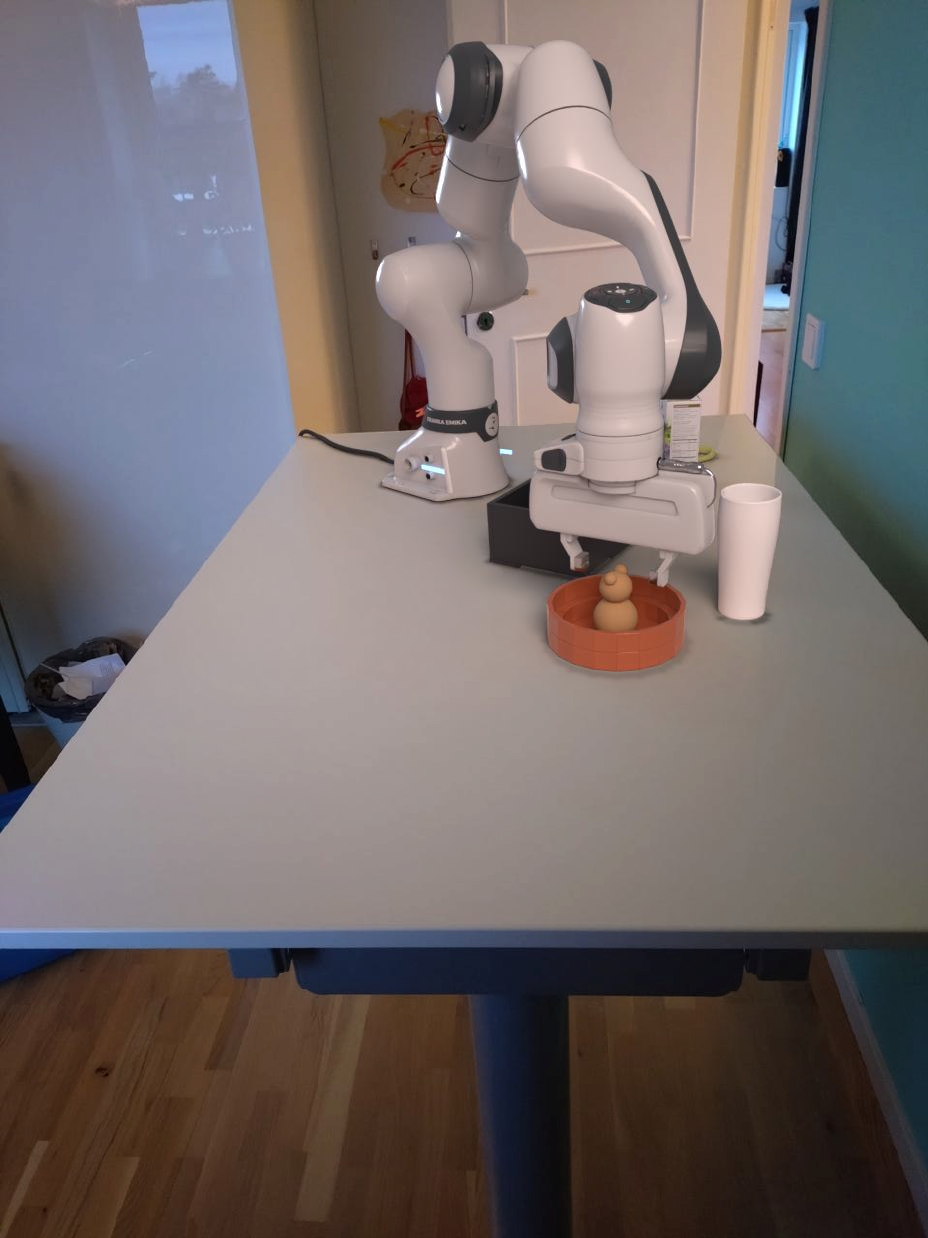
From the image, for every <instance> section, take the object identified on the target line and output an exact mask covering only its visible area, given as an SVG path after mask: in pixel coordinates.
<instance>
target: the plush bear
mask: <svg viewBox="0 0 928 1238" xmlns="http://www.w3.org/2000/svg"><path fill="white" fill-rule="evenodd" d="M614 567H615V568H614V570H611V571H608V572H607V573H604V574H605V575H604V576H603V578H602V579H601V581H600V585H599V589H600V593H601V595H602V597H603V598H604V599H602V600H601V601H600V602H599V603H598V604H597V606H596V607H595V610H594V613H593V622H594V626H595V628H596V629H597V630H601V631H614V632H621V631H634V630H635V628H636V626H637V622H638V613H637V610H636V607H635V606H634V604H633V603H632V602H631V601H630V600H629V599H627V598H628V597H629V596H630V594H631V592H632V582H631V579H630V578H629V576H628V575H627V574H628V570H629V569H628V567H627V566H626V565H625V564H623V563H619V564H617V565H616V566H614Z"/></svg>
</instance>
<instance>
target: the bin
mask: <svg viewBox="0 0 928 1238" xmlns="http://www.w3.org/2000/svg"><path fill="white" fill-rule="evenodd" d="M531 479H532V477H530V478H528V479H526V480H525V481H523V482H521V483H520V484H518V485H516V486H515V487H513V488H511V489H508V490H507V491H506V492H504V493H502V494H501V495H499V496H497V497H495V498H493V499H492V500H490V501H488V502H486V517H487V535H488V551H489V562H490V563H494V564H499V565H504V566H508V567H512V568H518V569H519V568H521V567H527V568H530V569H531V568H532V569H537V570H539V571H540V570H541V571H545V572H551V573H556V574H560V575H565V576H570V577H575V578H582V577H586V576H589V575H590V574H591V573H593V571H595V570H596V569H598V568H599V567H600V566H601V565H602V564H603V563H605V562H606V561H607V560H609V559H610V560H612V559H613V558H614V557H616V556H617V555H618V554H619V553H621V552H622V551H623V550H624V549H626V548H627V547H628V546H629V545H630V544H625V543H619V542H613V541H608V540H602V539H596V538H590V537H584V536H579V537H577V540H578V542H579V544H580V546H581V548H582V551H583V552H587V553H589V559H588V561H589V567H588V568H587V569H586V570H585V571H584V572H582V571H576V570H571V568H570V556H569V555H568V553H567V551H566V549H565V548H564V546H563V544H562V543H561V538H560V532H554V531H548V530H542V529H538V528H536V527H535V525H534V524H533V522H532V521H531V519H530V511H529V497H530V483H531Z"/></svg>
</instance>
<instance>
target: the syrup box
mask: <svg viewBox="0 0 928 1238" xmlns="http://www.w3.org/2000/svg"><path fill="white" fill-rule="evenodd" d="M660 404H661V411H662V414H663V418H664V438H663V458H667V459H675V460H679V461H684V462H698V457H699V454H700V453H699V446H700V439H701V438H700V435H701V424H702V405H703V401H702V399H701V397H700V396H699V394H698V395H696V396H695V397H694V398H692V399H691V400H661V403H660Z"/></svg>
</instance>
